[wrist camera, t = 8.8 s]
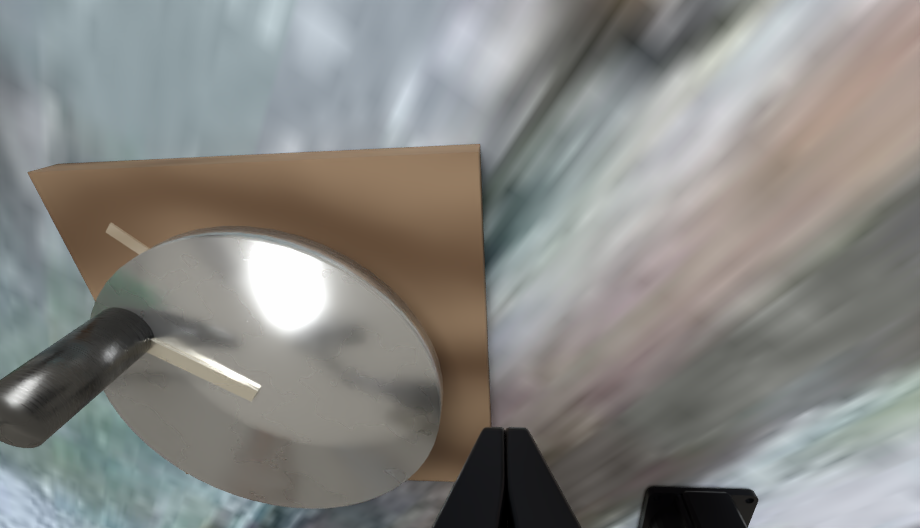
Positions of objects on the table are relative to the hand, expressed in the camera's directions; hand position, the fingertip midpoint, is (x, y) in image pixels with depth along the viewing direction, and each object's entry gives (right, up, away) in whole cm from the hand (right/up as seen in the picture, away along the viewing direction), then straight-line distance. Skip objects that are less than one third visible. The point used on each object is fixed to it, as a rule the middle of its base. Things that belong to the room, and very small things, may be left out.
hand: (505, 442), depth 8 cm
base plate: (-9, -1, +16) cm, 18 cm away
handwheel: (-9, -1, +14) cm, 17 cm away
